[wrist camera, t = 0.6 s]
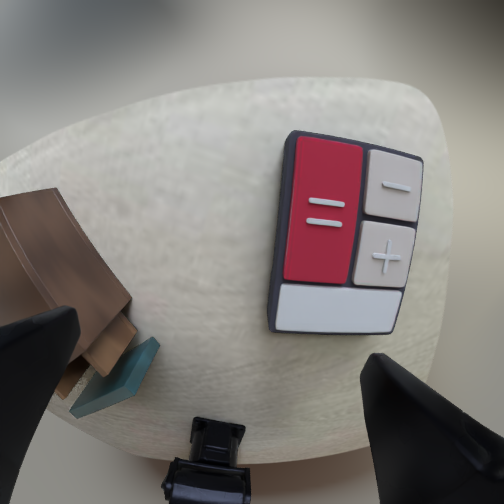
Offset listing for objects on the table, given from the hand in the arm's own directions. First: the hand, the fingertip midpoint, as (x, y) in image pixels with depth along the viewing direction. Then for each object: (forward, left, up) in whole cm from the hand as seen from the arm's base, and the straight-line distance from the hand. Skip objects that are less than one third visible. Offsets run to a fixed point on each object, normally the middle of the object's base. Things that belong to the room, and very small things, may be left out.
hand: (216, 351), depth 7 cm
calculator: (+2, -8, -16) cm, 18 cm away
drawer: (-13, +13, -15) cm, 24 cm away
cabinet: (-8, +18, -16) cm, 25 cm away
